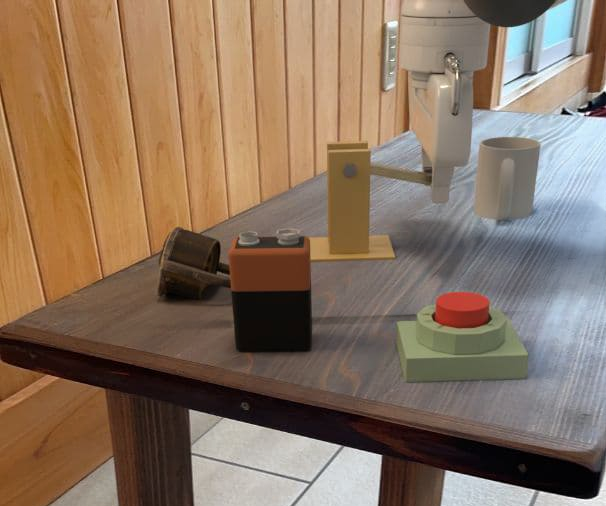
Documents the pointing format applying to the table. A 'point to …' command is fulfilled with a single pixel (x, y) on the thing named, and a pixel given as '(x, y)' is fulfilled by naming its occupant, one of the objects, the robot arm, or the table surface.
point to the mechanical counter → (190, 264)
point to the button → (462, 310)
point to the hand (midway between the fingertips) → (434, 192)
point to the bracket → (349, 208)
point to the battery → (271, 291)
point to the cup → (506, 177)
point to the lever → (400, 173)
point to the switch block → (460, 349)
